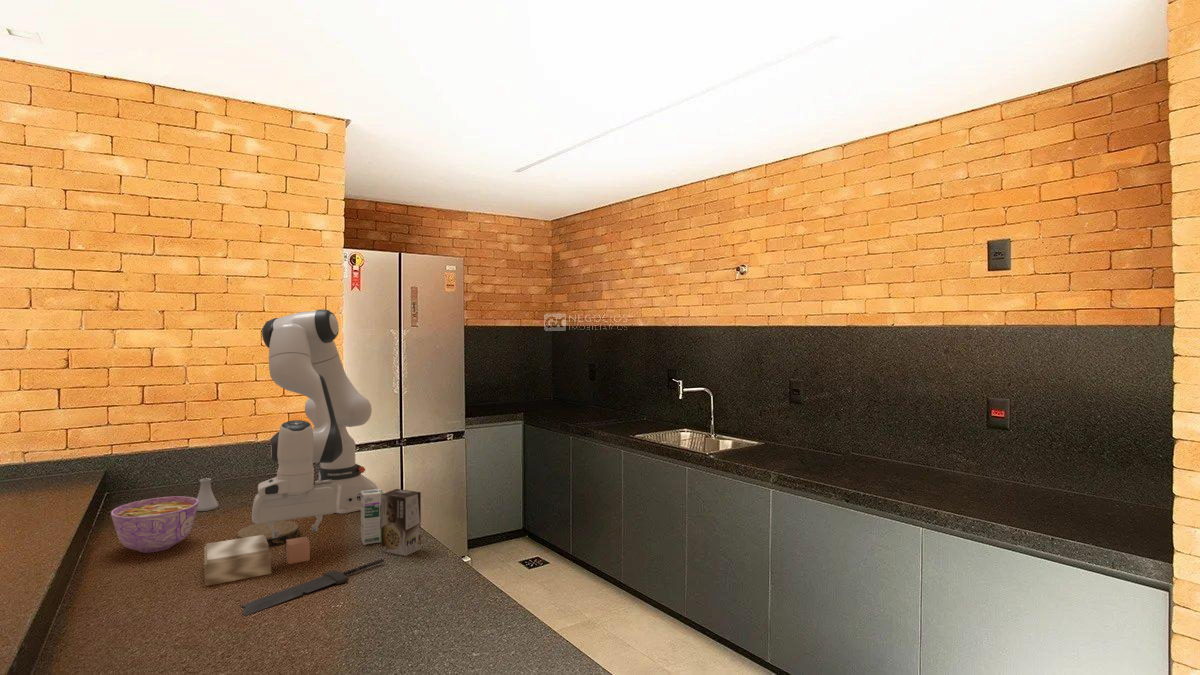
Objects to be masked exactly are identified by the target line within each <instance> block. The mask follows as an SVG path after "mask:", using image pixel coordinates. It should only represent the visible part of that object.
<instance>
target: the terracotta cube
mask: <svg viewBox="0 0 1200 675" xmlns="http://www.w3.org/2000/svg"><path fill="white" fill-rule="evenodd" d="M285 545H286V546H285V547H286V548H285V549H286V551H285V552H286V553H285V554H286V555H285V556H286V561H287V563H288V564H289V565H292V564H298V563H303V562H308V561H310V560H311V556H310V554H311V552H310V551H311V550H310V549H311V548H310V545H311V544H310V540H309V538H308V536H302V537H301V536H300V537H297V538H294V539H288V540H286V543H285Z"/></svg>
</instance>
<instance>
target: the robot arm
mask: <svg viewBox="0 0 1200 675" xmlns="http://www.w3.org/2000/svg"><path fill="white" fill-rule="evenodd" d="M339 332H340V329H339V322H338V319H337V317H336V315H335V314H334V313H333V312H332V311H330V310H328V309H317V310H311V311H310V310H309V311H308V310H307V311H300V312H296V313H291V314H289V315H285V316H281V317H275V318H272V319H269V320H267V321H266V322H265V323H264V324H263V327H262V330H261V335H262V340H263V342H264V345H265V346H266V347H267V348H268V369H269V376H270V378H271V380H272V381H273V382H274V384H276V385H277V386H279V387H280V388H281V389H284V390H286V391H289V392H292V393H295V394H299V395H301V396H302V395H303V396H305V397H307V398H308V399H307V400H306V402H305V405H304V413H305V415H306V418H308V419H309V420H310V422H311V423H312V424H311V423H310V422H309V421H307V420H302V419H301V420H300V419H299V420H298V419H295V420H289V421H284V422H283V423H282V424H281V425H280V427H279V431H277V432H276V433H274V435H273V436H271V438H270V439H269V443H270V456H269V460H271V461H273V462H274V463H275V464H277V465H278V467H277V468H278V469H277V471H276V476H274V477H272V478H270V479H267V480H264V481H261V482H260V483H258V485H257V492H258V493H256V495H255V497H254V499H253V503H252V510H251V521H252V523H253V524H260V523H267V525H268V527H269V529H270V530H271V532H272V538H278V537H279V535H278V534H279V531H278V530H274V528H273V527H272V526H273V525H274V521H282V520H285V521H290V520H296V519H302V518H303V519H304V518H309V517H311V518H312V517H315V518H316V521H315V522H314V524H311V525H310V531H311V533H312V534H313V533H318V532H319V525H320V523H321V522H322V521H323V516H324V515H331V514H332V515H333V514H340V515H342V514H343V515H344V514H348V513H353V512H357V511H361V491H365V490H374V489H379V488H378V486H377V484H376V483H375V482H374V481H373V480H371V479H369V478H368V477H366V476H365V475H363V473H365V472H366V467H365V466H363V465H360V464H358V463H356V441H355V439H354V438H353V437H352V436H351V435H350V433H349V432H348V429H347V428H348V427H349V428H353V427H360V426H362V425H365V424H366V423H367V422H368V421H369V420H370V418H371V416H372V413H373V412H372V410H373V409H372V404H371V402H370V401H369V400H368V398H366V397H364V396H363V395H362V394H361V393H360V392H359V391H358V390H357V389H356V387H355V386H354V385H353V383H352V381H351V379H349V377H348V375H347V373H346V372H345V369H344V366H343V363H342V360H341V357H340V354H339V351H338V348H337V345H336V343H335V339H336V338H337V336H338V335H339ZM312 425H313V427H314V428H313V427H312ZM315 463H319V464H320V466H319V467H318V480H315V468H314V465H313V464H315Z"/></svg>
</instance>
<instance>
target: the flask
mask: <svg viewBox="0 0 1200 675" xmlns="http://www.w3.org/2000/svg"><path fill="white" fill-rule="evenodd" d="M211 481H212V478H210V477H208V478H207V477H206V478H201V479H199V482H200V485H199V487H200V488H199V491H198V494H197V496H196V499H198V501H199V503H198V508H197V511H196V512H208V511H211V510H216V509H217V508H218V507H220V504H219V503H218V501H217V499H216V497H215V495H214V492H213V490H212V485H211Z"/></svg>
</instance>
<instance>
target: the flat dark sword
mask: <svg viewBox="0 0 1200 675" xmlns="http://www.w3.org/2000/svg"><path fill="white" fill-rule="evenodd" d="M384 562H385V560H384V558H380V559H378V560H374V561H371V562H369V563H366V564H363V565H360V566H358V567H355V568H352V569H350V570H349V569H348V570H346V571H344V572H342V571H339V570H334V569H333V570H330V571H327V572H324V573H323V574H322V575H323V576H319V577H317V578H315V579H312V580H308V581H306V582H303V583H300V584H297V585H295V586H292V587H288V588H286V589H284V590H281V591H278V592H275V593H271V594H269V595H267V596H266V595H265V596H264V597H260V598H257V599H255V600H252V601H249V602H247V603H243V604H241V605H240V607H242V608H243V609H244V611H243V612H242V615H243V616H244V617H246V616H249V615H251V614H254V613H258V612H259V611H262V610H265V609H268V608H271V607H275V606H276V605H279V604H282V603H285V602H286V601H290V600H292V599H295V598H298V597H301V596H303V595H305V594H309V593H311V592H314V591H317V590H321V589H322V588H327V587H329V586H331V585H333V584H335V585H340V584H343V583H346V582H348V581H349V575H350V574H354V573H356V572H359V571H362V570H364V569H368V568H370V567H374V566H377V565H378V564H382V563H384Z"/></svg>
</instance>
